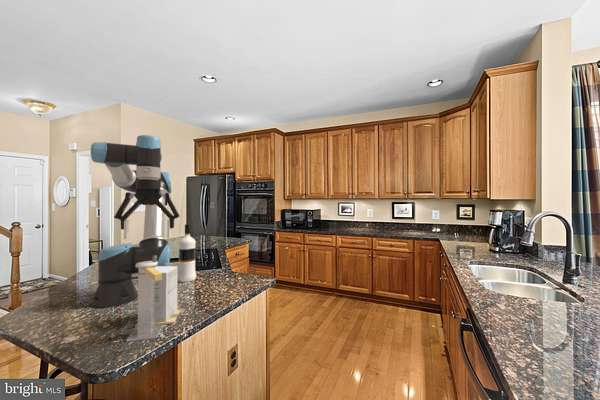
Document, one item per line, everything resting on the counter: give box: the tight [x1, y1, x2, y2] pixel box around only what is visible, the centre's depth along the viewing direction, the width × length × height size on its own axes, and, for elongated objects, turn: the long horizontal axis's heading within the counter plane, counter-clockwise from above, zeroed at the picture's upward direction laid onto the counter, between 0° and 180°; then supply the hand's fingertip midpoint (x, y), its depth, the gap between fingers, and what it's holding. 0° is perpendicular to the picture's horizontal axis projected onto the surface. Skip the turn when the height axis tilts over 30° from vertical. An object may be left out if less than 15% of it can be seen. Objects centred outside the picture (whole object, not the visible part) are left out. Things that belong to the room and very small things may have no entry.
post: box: [126, 273, 165, 343], centre depth 81 cm, size 8×8×19 cm
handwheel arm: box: [136, 255, 162, 281], centre depth 77 cm, size 6×16×5 cm, turn 43°
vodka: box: [177, 223, 197, 283], centre depth 137 cm, size 9×9×30 cm
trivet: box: [134, 307, 182, 329], centre depth 91 cm, size 12×12×1 cm
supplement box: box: [154, 265, 178, 322], centre depth 91 cm, size 10×9×17 cm
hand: (148, 238), depth 92 cm, fingers open, 13 cm apart
